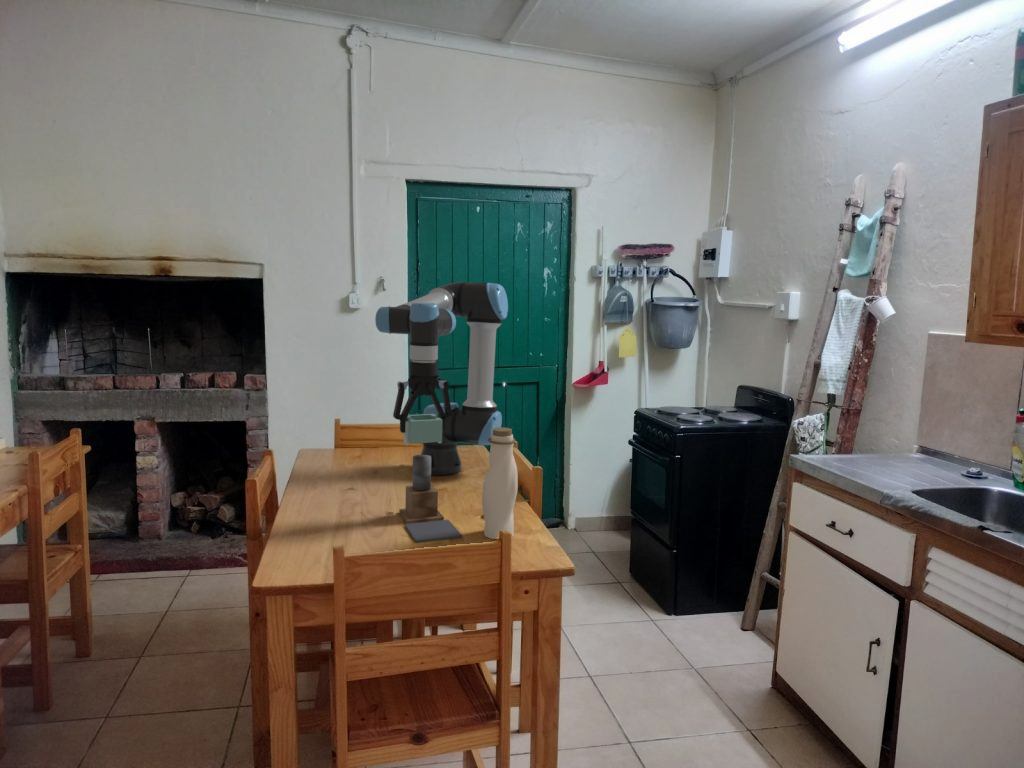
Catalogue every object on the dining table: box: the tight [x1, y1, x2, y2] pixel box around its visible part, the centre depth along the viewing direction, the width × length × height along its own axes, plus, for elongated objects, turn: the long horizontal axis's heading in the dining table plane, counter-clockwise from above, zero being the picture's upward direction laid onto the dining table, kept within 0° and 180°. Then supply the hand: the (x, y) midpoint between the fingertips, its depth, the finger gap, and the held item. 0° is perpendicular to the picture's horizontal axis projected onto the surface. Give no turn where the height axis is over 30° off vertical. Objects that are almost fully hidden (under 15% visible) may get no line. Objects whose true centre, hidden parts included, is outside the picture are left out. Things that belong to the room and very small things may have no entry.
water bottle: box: [481, 426, 519, 540], centre depth 176 cm, size 10×9×28 cm
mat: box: [404, 519, 463, 543], centre depth 177 cm, size 12×12×1 cm
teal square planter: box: [406, 413, 442, 444], centre depth 185 cm, size 8×8×6 cm
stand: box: [398, 454, 445, 524], centre depth 187 cm, size 10×10×17 cm
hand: (422, 443), depth 185 cm, fingers closed on teal square planter, 8 cm apart
